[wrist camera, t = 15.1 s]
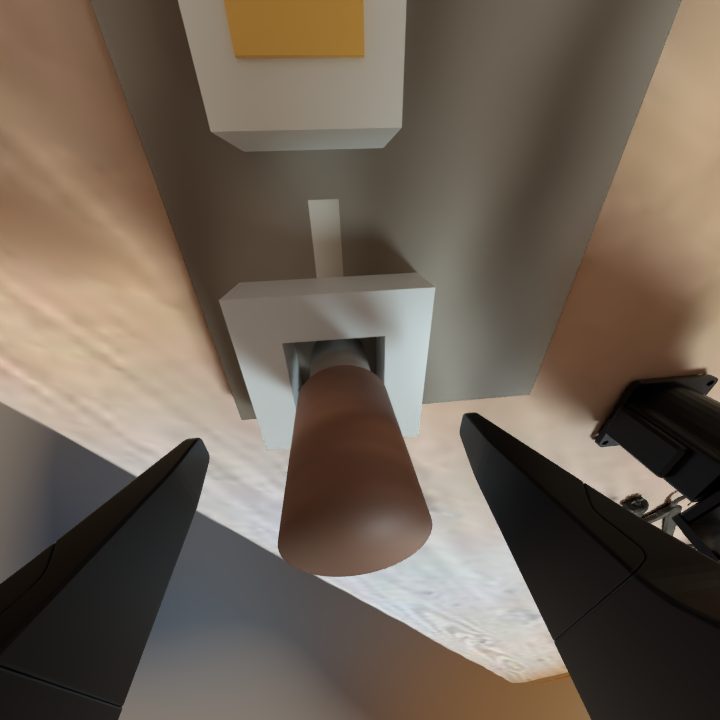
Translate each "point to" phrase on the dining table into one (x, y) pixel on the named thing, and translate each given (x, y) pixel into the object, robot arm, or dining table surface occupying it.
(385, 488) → the brown wooden peg
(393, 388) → the pilot socket
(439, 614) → the dining table surface
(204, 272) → the board
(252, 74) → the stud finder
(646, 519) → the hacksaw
